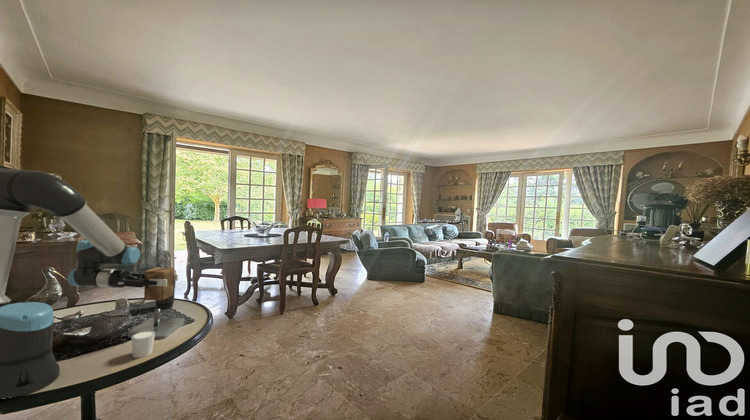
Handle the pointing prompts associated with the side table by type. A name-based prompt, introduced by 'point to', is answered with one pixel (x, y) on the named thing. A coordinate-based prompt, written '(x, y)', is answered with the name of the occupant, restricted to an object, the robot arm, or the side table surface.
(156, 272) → the wooden brick
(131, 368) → the side table surface
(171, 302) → the camera lens
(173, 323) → the joystick
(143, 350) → the pale grey tapered cylinder
